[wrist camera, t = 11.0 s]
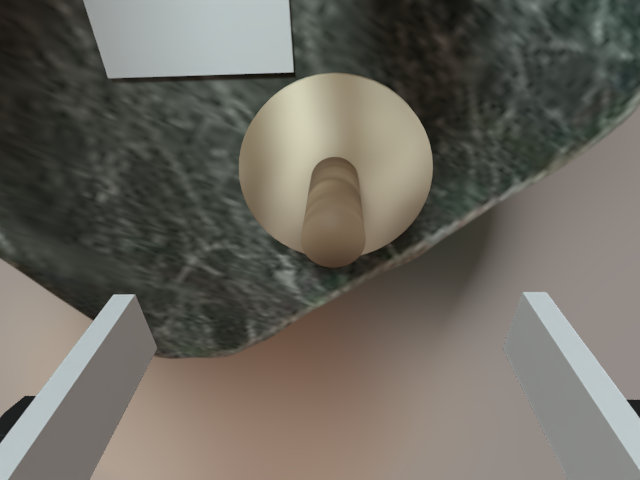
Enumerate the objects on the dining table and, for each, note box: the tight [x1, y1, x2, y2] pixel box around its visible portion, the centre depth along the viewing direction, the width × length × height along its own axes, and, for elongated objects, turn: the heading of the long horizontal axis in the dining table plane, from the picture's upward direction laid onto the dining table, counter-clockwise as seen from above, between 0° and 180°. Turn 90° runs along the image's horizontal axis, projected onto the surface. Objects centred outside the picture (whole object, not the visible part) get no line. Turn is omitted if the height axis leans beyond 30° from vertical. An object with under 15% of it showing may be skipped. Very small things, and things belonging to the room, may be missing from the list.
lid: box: [239, 72, 433, 268], centre depth 22 cm, size 13×13×9 cm
